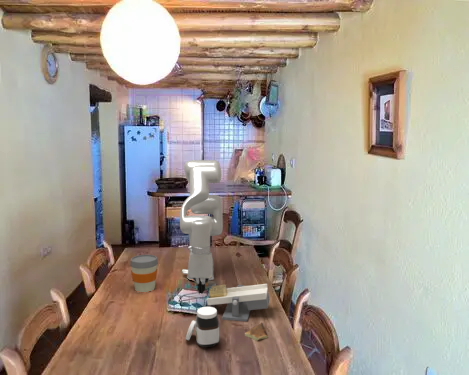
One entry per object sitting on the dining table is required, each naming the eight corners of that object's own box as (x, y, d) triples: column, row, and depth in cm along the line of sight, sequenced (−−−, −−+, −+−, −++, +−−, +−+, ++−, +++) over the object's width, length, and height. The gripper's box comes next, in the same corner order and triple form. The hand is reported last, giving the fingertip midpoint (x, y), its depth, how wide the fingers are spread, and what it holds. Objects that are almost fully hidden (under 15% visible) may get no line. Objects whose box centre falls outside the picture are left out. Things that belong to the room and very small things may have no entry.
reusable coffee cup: (130, 295, 179) (129, 263, 177) (131, 285, 191) (130, 255, 189) (158, 293, 181) (157, 261, 179) (158, 283, 193) (157, 253, 191)
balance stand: (222, 319, 155) (222, 299, 154) (229, 301, 172) (229, 283, 171) (247, 321, 154) (247, 300, 153) (252, 303, 171) (252, 284, 169)
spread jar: (221, 347, 135) (221, 315, 133) (188, 353, 132) (188, 320, 130) (213, 331, 146) (213, 301, 145) (183, 335, 143) (182, 305, 142)
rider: (210, 300, 161) (208, 291, 161) (213, 295, 167) (211, 286, 166) (224, 298, 160) (223, 289, 160) (227, 293, 166) (225, 284, 165)
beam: (209, 314, 160) (206, 299, 159) (214, 304, 170) (211, 289, 169) (267, 308, 156) (265, 293, 155) (269, 298, 165) (267, 283, 165)
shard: (261, 325, 151) (261, 321, 151) (278, 332, 146) (278, 327, 146) (243, 336, 143) (243, 332, 143) (260, 343, 138) (260, 339, 138)
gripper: (180, 251, 160) (181, 294, 162) (216, 253, 157) (217, 297, 160) (185, 246, 167) (186, 287, 169) (220, 248, 165) (220, 290, 167)
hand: (201, 292), depth 164 cm, fingers closed
